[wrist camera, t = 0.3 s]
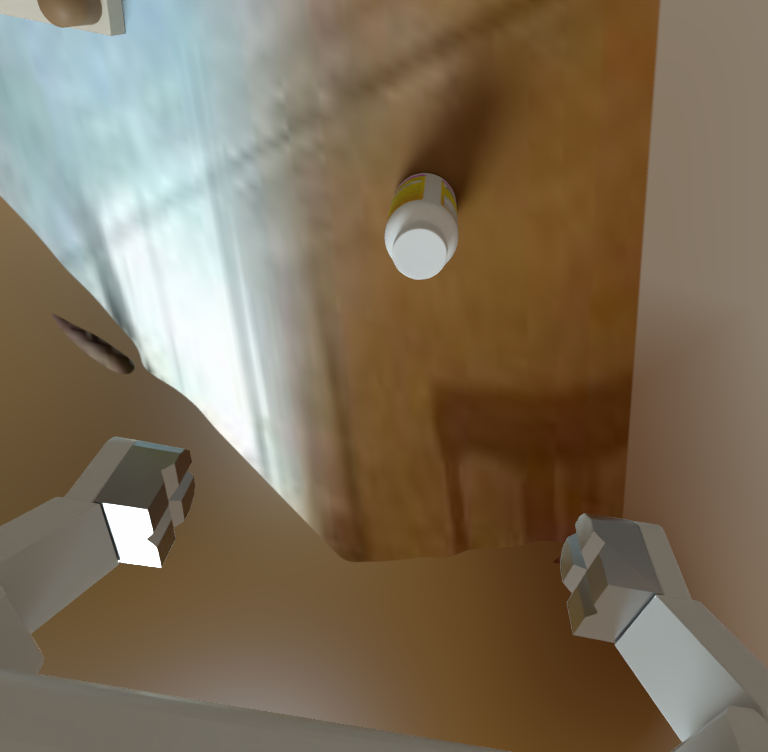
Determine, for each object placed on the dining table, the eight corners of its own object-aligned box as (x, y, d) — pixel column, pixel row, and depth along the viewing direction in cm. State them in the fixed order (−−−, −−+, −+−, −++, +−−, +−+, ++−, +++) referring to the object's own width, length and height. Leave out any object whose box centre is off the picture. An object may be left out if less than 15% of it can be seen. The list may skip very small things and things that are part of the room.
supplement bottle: (384, 222, 56) (369, 274, 46) (405, 161, 52) (394, 203, 42) (442, 243, 57) (440, 300, 46) (467, 185, 53) (471, 232, 42)
